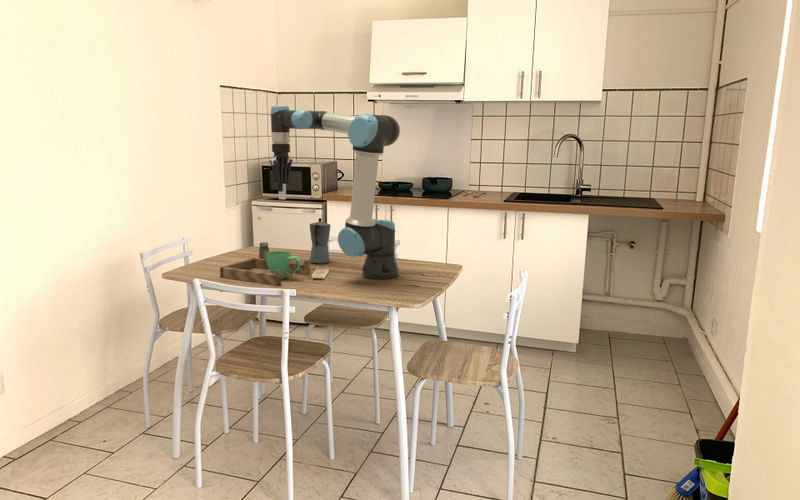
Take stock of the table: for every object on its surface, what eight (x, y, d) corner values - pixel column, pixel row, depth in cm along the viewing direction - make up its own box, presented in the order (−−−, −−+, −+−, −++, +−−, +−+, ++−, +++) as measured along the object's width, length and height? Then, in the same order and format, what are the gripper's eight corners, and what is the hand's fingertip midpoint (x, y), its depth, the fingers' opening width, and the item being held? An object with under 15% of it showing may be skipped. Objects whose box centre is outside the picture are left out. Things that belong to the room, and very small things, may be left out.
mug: (261, 279, 236) (260, 254, 234) (274, 274, 245) (273, 250, 243) (294, 283, 231) (293, 258, 229) (306, 277, 240) (305, 253, 238)
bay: (316, 272, 249) (315, 248, 247) (278, 285, 226) (277, 259, 224) (260, 264, 261) (260, 241, 259) (220, 277, 239) (219, 251, 237)
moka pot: (332, 259, 275) (332, 216, 271) (328, 266, 260) (327, 221, 256) (312, 258, 275) (311, 215, 271) (306, 266, 260) (305, 221, 256)
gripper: (283, 142, 257) (284, 197, 262) (263, 143, 245) (265, 199, 250) (297, 143, 254) (298, 198, 258) (278, 143, 242) (280, 201, 247)
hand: (282, 198), depth 254 cm, fingers closed
